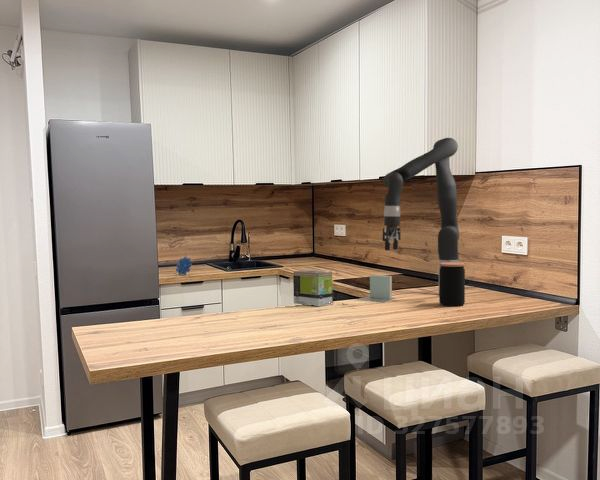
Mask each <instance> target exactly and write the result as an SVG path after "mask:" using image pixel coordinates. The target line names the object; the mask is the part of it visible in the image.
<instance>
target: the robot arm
mask: <svg viewBox="0 0 600 480" xmlns="http://www.w3.org/2000/svg"><path fill="white" fill-rule="evenodd" d="M458 148H459V145H458V142H457V140H455V139H454V138H452V137H445V138H441V139H439V140H437V141H435V143H434V144H433V147H432V149H431V150H429V151H427V152H426V153H423V154H422V155H420V156H417V157H415V158H413V159H411V160H409V161H408V162H407V163H405V164H402V166H399V168H396V169H395V170H392V171H390V172H388V173H386V174H385V175H384V177H383V179H382V182H383V185H384V187H386V188H388V190H387V191H388V192H387V193H386V194H385V196H384V209H383V225H384V226H386V227H383V228H382V239H381V240H382V241H383V242H384V250H385V251H390V250H391V240H392V249H393V250H398V249H399V242H400V241H401V239H402V238H401V233H402V232H401V227H400V226H401V195H402V191H403V187H404V186H403V185H404V181H407V180H410V179H412V178H413V177H415V176H417V175H418V174H420V173H421V172H423V171H424V170H426V169H428V168H429V167H431V166H432V165H434V166H435V179H436V197H437V198H436V199H437V204H438V209H439V212H440V218H441V220H440V221H441V223H440V224H441V225H440V230H439V231H438V234H437V254H438V271H439V270H440V268H441V266H440V263H445V262H456V263H460V262H459V249H458V248H459V239H460V230H459V227H458V226H459V225H458V219H457V218H458V217H457V212H458V211H457V210H458V209H457V208H458V206H457V205H458V197H457V184H456V180H455V177H454V176H453V174H452V171H451V168H450V158H451V157H453V156H454V155H455V154H457V151H458Z"/></svg>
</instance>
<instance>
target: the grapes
mask: <svg viewBox="0 0 600 480" xmlns="http://www.w3.org/2000/svg"><path fill="white" fill-rule="evenodd" d="M192 266H193V265H192V263H191V259H190V258H188V257H187V256H184V257H183V258H182V257H181V258H180V259H178V262H176V266H175V267H176V269H175V270H176V272H177V274H178V275H179V274H182V275H183V274H185V275H187V273H189V272H190V271H191V267H192Z"/></svg>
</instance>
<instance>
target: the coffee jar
mask: <svg viewBox="0 0 600 480" xmlns="http://www.w3.org/2000/svg"><path fill="white" fill-rule="evenodd" d="M440 266H441V268H440V270H439V269H438V295H439V301H438V302H439V304H440V305H441V306H444V307H452V308H453V307H454V308H456V307H463V306H464V305H465V302H466V301H465V300H466V299H465V298H466V297H465V296H466V294H465V293H466V287H465V286H466V283H465V282H466V280H465V279H466V272H465V271H466V269H465V266H466V264H465V263H464V262H458V263H456V262H445V263H440Z"/></svg>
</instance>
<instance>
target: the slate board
mask: <svg viewBox="0 0 600 480" xmlns="http://www.w3.org/2000/svg"><path fill="white" fill-rule="evenodd" d="M396 299H397V298H396V297H392V298H391V299H387V298H375V297H370V295H368V296H364V297H361V298H357V299H355V301H361V302H372V303H373V302H374V303H386V302H390V301H392V300H396Z"/></svg>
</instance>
